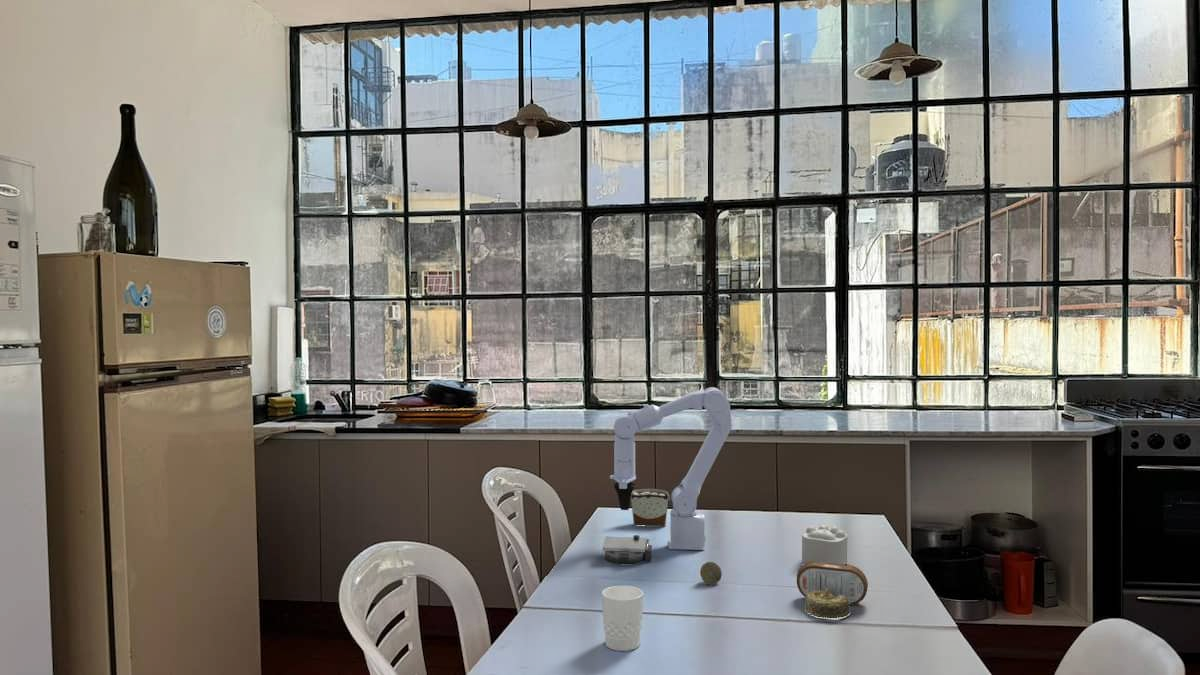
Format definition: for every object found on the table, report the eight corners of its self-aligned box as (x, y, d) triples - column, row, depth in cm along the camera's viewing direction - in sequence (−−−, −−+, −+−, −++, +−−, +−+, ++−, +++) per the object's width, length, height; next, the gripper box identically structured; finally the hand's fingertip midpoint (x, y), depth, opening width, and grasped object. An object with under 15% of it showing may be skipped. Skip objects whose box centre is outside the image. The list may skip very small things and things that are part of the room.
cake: (844, 627, 161) (843, 602, 160) (796, 618, 166) (795, 593, 165) (856, 608, 169) (855, 583, 168) (810, 600, 174) (809, 576, 174)
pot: (652, 549, 212) (652, 537, 211) (650, 569, 195) (650, 556, 195) (607, 547, 213) (607, 536, 213) (601, 567, 196) (601, 555, 196)
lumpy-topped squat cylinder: (797, 565, 198) (798, 531, 198) (812, 551, 209) (812, 519, 209) (839, 572, 193) (840, 537, 192) (852, 558, 204) (852, 524, 203)
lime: (723, 582, 185) (723, 561, 185) (711, 588, 182) (712, 566, 182) (708, 578, 188) (708, 557, 188) (696, 583, 185) (696, 562, 185)
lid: (649, 540, 208) (649, 534, 208) (648, 552, 198) (648, 545, 198) (606, 539, 209) (606, 533, 209) (602, 550, 200) (602, 544, 199)
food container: (670, 521, 240) (670, 488, 239) (670, 526, 234) (670, 493, 233) (630, 520, 241) (630, 488, 241) (628, 525, 235) (628, 492, 235)
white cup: (600, 636, 155) (600, 586, 154) (640, 634, 155) (640, 584, 155) (604, 653, 147) (603, 600, 146) (645, 652, 147) (645, 599, 147)
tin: (867, 603, 172) (867, 565, 172) (867, 608, 169) (867, 569, 169) (796, 595, 177) (797, 558, 176) (795, 600, 174) (795, 562, 174)
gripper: (612, 454, 222) (612, 502, 222) (607, 464, 208) (607, 515, 208) (637, 455, 221) (637, 503, 222) (634, 465, 207) (634, 516, 207)
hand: (624, 509), depth 215 cm, fingers closed
